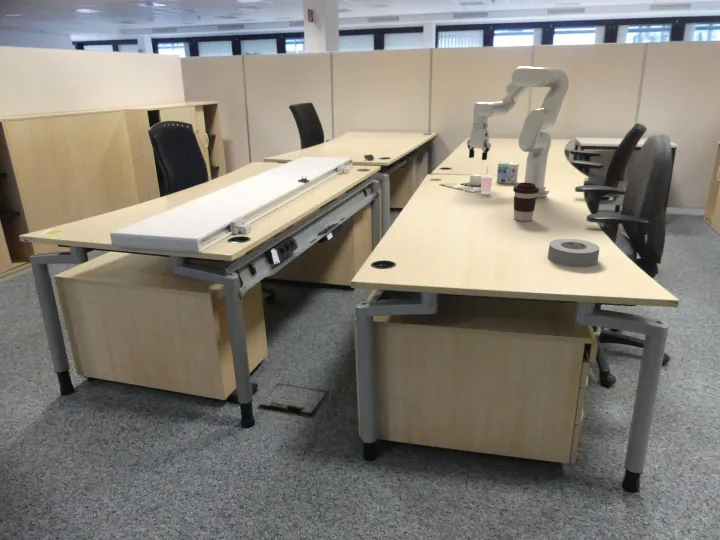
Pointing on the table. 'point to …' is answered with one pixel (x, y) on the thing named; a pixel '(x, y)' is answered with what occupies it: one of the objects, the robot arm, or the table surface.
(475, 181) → the die
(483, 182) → the beverage cup
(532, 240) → the table surface
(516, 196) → the coffee cup
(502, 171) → the light bulb box
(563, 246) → the tape roll
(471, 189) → the track
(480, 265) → the table surface
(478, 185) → the mat
